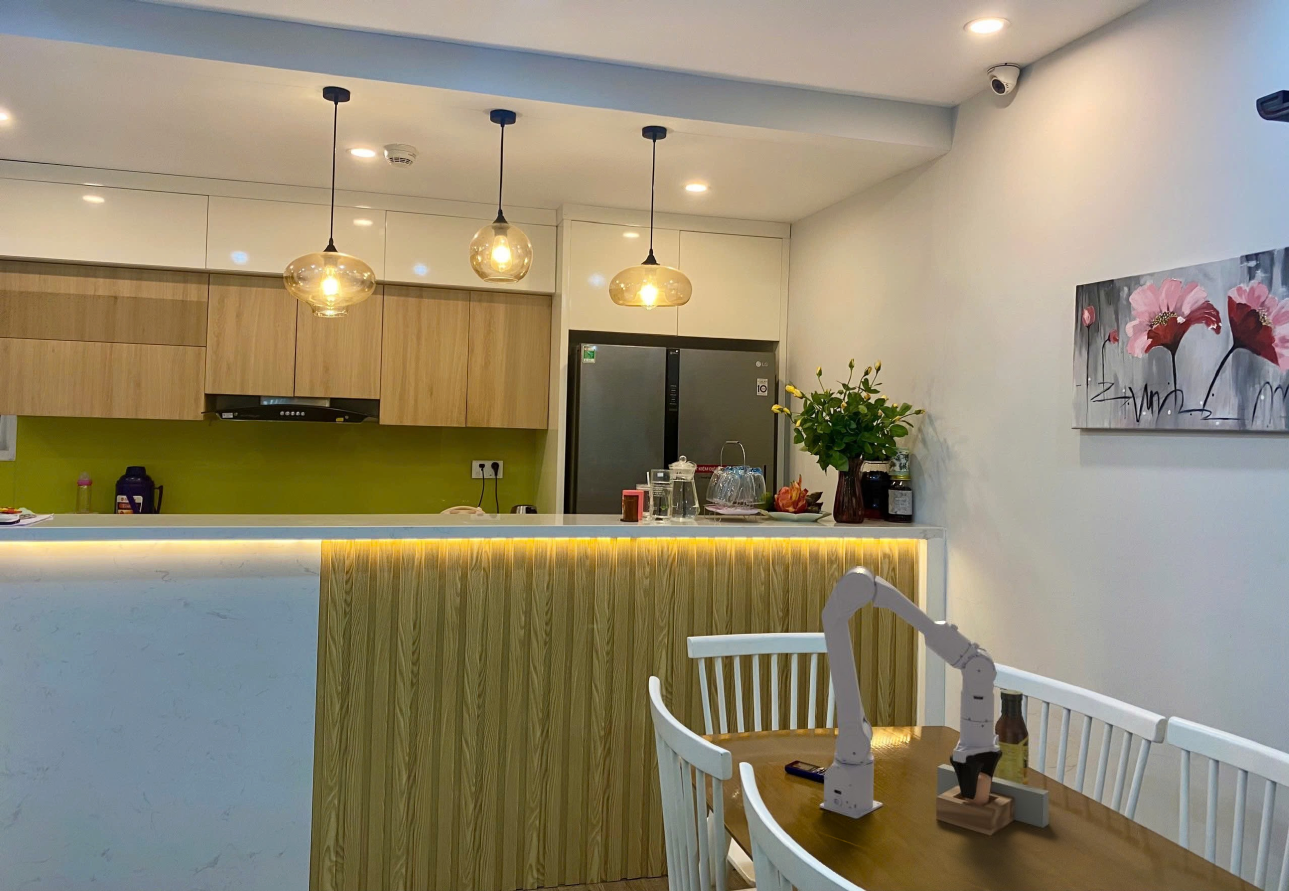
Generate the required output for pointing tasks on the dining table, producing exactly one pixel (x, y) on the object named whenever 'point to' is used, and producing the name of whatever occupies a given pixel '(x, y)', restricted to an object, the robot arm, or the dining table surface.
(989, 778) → the dowel
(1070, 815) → the dining table surface
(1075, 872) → the dining table surface
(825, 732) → the dining table surface
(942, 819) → the socket block
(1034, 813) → the backstop
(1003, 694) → the sauce bottle
